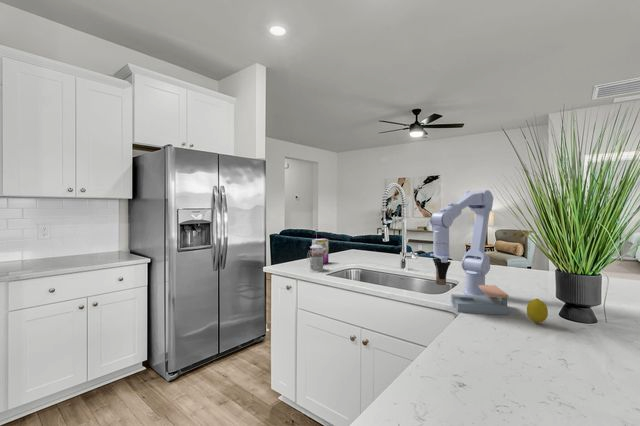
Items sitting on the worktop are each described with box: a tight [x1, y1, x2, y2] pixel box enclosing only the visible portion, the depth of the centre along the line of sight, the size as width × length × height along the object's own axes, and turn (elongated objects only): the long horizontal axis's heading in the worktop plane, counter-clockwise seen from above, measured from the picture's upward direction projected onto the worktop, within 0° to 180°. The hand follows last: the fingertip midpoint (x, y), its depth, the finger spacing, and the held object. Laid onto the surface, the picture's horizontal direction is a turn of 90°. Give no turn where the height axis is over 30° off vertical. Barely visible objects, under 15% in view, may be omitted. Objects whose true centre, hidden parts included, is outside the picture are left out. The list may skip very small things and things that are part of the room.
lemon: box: [526, 297, 549, 325], centre depth 98 cm, size 6×6×8 cm
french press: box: [306, 228, 326, 273], centre depth 186 cm, size 10×12×25 cm
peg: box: [435, 266, 447, 286], centre depth 120 cm, size 4×4×8 cm
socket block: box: [450, 284, 509, 316], centre depth 114 cm, size 13×16×7 cm
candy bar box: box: [311, 238, 330, 264], centre depth 208 cm, size 11×5×16 cm, turn 130°
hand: (441, 278), depth 120 cm, fingers closed on peg, 4 cm apart
